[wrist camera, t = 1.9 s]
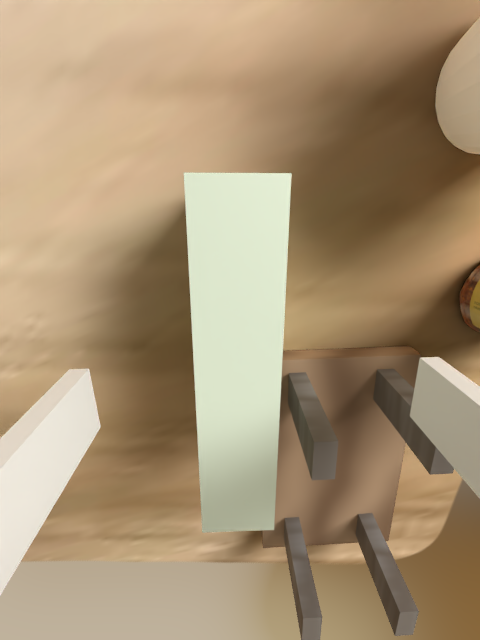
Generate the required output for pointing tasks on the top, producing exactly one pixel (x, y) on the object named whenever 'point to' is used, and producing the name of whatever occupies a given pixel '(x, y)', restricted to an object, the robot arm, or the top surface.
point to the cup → (461, 93)
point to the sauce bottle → (471, 300)
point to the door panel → (237, 340)
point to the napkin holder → (346, 466)
